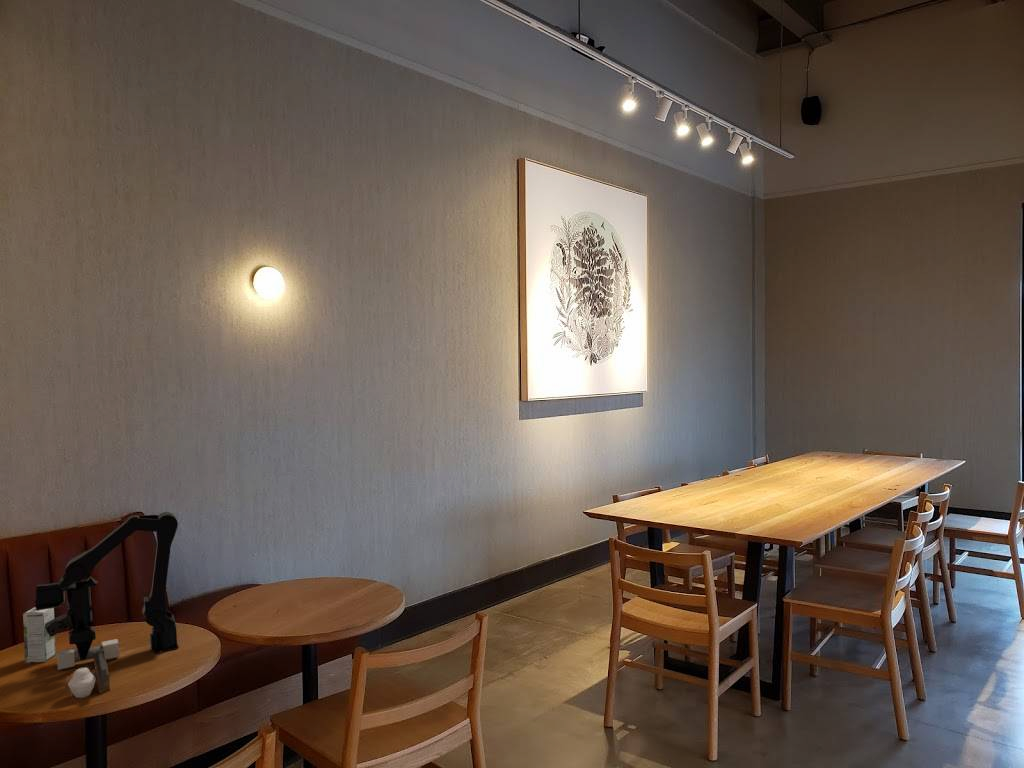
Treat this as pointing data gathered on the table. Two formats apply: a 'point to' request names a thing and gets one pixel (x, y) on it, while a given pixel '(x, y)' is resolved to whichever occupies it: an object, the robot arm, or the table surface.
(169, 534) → the robot arm
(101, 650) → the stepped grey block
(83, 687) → the muffin
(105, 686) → the dark brown block
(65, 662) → the square-ended dumbbell
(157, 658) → the table surface
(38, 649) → the syrup box
